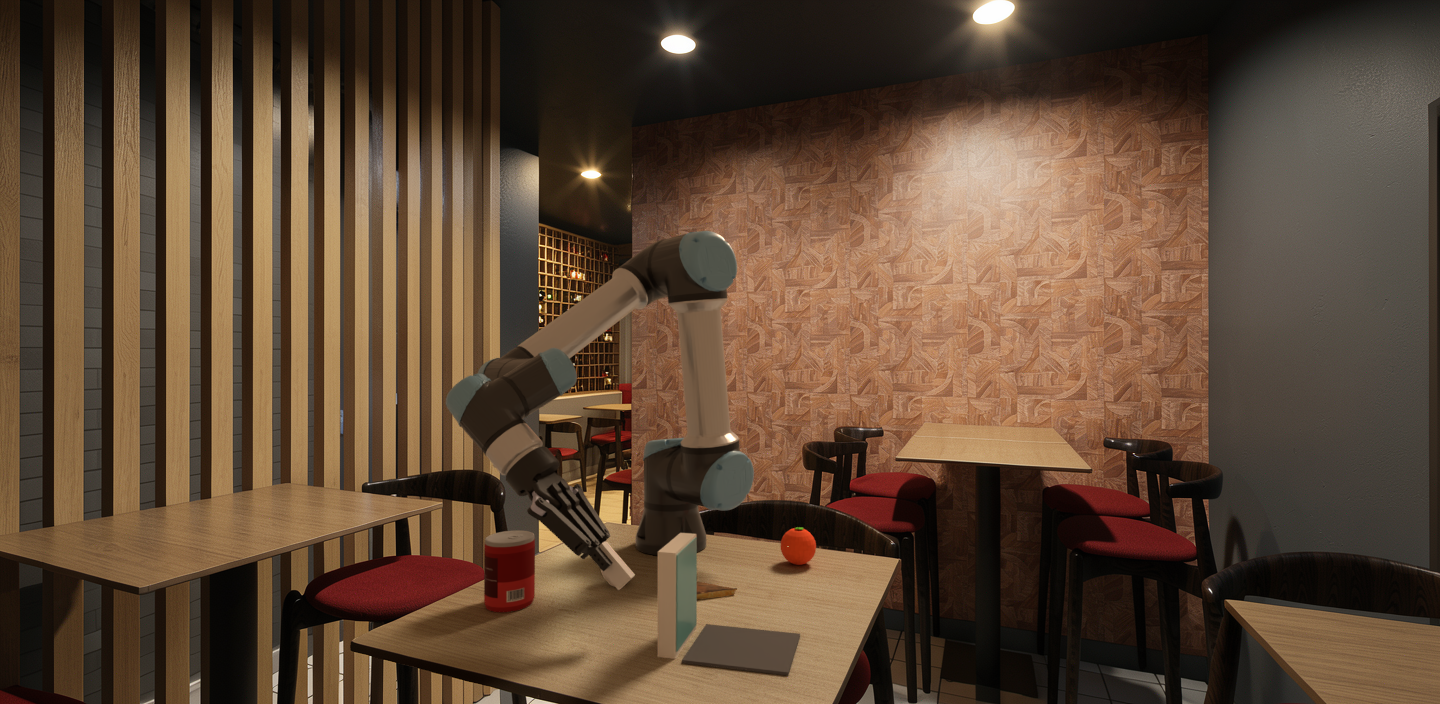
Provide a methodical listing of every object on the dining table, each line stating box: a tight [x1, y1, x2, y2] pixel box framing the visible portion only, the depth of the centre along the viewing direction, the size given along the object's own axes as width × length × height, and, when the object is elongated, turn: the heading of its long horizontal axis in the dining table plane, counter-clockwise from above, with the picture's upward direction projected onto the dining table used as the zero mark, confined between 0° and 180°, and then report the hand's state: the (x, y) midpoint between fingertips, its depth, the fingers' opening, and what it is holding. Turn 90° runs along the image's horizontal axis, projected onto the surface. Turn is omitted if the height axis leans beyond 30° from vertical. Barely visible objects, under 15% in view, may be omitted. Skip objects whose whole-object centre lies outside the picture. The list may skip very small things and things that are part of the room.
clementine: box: [779, 526, 817, 566], centre depth 127 cm, size 8×7×7 cm
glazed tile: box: [657, 533, 698, 660], centre depth 92 cm, size 10×3×14 cm, turn 166°
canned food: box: [483, 530, 536, 613], centre depth 106 cm, size 8×8×11 cm
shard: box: [697, 580, 738, 600], centre depth 109 cm, size 11×8×2 cm
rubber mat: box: [681, 623, 801, 676], centre depth 89 cm, size 12×14×1 cm
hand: (626, 582), depth 93 cm, fingers closed
